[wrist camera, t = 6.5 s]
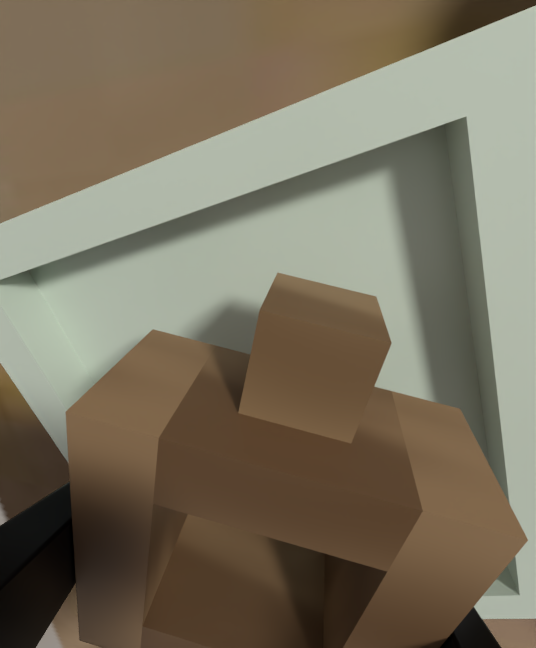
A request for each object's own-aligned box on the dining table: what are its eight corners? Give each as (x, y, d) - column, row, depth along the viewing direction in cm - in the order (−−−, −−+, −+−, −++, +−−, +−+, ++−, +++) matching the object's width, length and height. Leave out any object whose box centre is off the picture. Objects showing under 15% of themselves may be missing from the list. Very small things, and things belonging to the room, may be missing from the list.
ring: (360, 589, 11) (370, 731, 8) (140, 525, 11) (79, 640, 9) (504, 327, 7) (615, 435, 4) (158, 243, 7) (57, 292, 5)
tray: (533, 554, 13) (565, 618, 11) (191, 571, 17) (174, 620, 15) (489, 41, 7) (539, 4, 6) (-9, 238, 11) (-74, 253, 9)
